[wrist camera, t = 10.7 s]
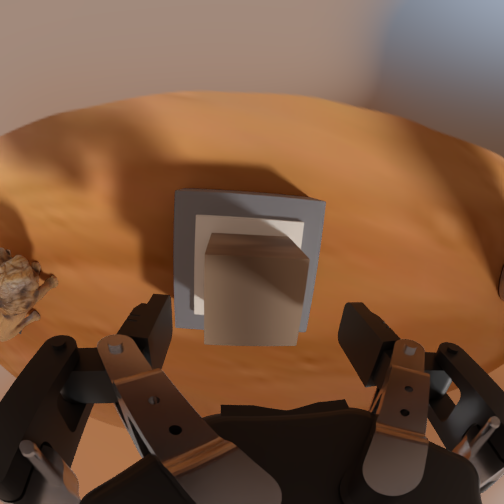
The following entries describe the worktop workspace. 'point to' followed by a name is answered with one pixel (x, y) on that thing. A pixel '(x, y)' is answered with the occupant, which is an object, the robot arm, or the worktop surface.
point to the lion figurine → (19, 293)
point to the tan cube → (253, 290)
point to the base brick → (237, 222)
